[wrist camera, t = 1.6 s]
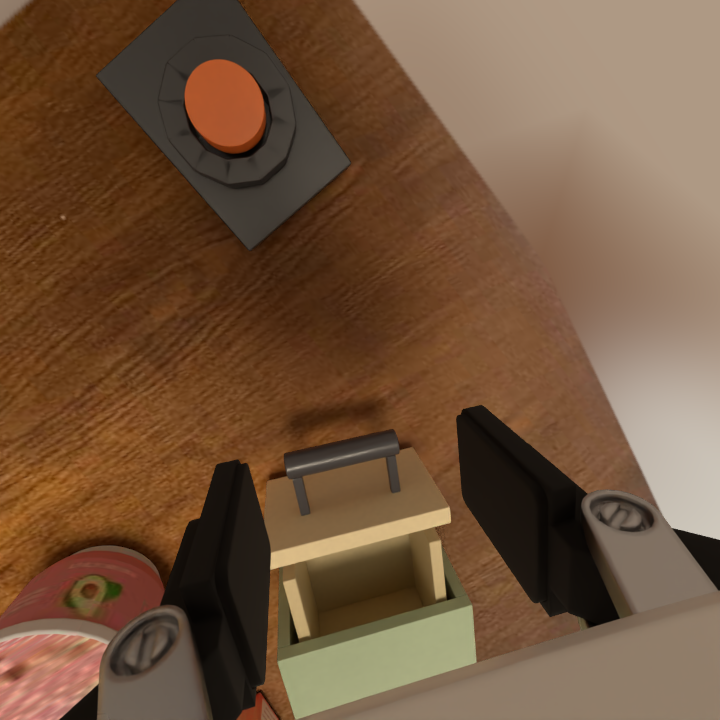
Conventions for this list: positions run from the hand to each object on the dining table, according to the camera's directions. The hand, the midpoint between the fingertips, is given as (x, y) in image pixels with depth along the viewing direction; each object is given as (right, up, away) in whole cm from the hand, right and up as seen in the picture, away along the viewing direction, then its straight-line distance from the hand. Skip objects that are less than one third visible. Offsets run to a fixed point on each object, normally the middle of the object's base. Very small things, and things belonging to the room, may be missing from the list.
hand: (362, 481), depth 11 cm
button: (-7, +16, +9) cm, 20 cm away
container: (-20, -14, +19) cm, 31 cm away
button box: (-7, +17, +12) cm, 22 cm away
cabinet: (0, -18, +24) cm, 30 cm away
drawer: (-1, -9, +20) cm, 22 cm away
